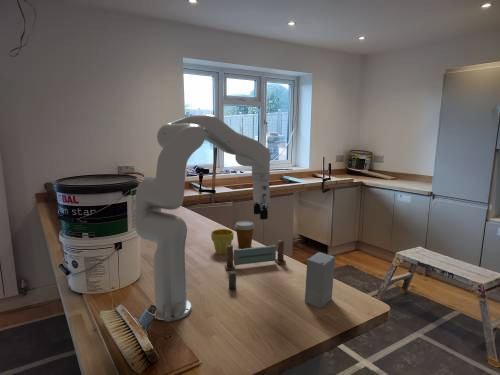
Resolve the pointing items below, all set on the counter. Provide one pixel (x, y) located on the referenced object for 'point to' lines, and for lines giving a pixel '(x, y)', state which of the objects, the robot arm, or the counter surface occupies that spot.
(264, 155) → the robot arm
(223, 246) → the plant pot
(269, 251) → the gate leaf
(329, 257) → the skincare box
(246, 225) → the disposable coffee cup
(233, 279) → the gate posts
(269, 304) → the counter surface
